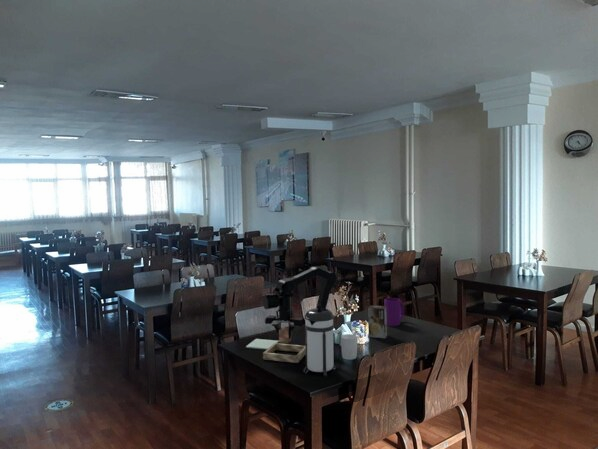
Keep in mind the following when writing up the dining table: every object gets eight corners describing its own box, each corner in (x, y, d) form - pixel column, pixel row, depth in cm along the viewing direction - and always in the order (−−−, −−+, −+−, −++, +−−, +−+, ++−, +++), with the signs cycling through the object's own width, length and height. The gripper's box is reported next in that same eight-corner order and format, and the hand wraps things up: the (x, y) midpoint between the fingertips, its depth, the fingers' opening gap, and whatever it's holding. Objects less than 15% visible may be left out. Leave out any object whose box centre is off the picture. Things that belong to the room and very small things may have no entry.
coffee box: (387, 335, 258) (387, 306, 256) (385, 338, 252) (384, 309, 250) (370, 333, 261) (370, 305, 260) (368, 337, 255) (367, 307, 254)
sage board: (278, 341, 249) (278, 340, 249) (269, 349, 237) (269, 348, 237) (256, 339, 253) (256, 338, 253) (246, 347, 241) (246, 346, 241)
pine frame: (307, 351, 233) (307, 346, 233) (297, 362, 218) (297, 356, 218) (274, 348, 238) (274, 342, 238) (262, 359, 224) (262, 353, 224)
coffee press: (343, 375, 203) (342, 306, 201) (307, 379, 199) (306, 309, 197) (332, 361, 220) (331, 297, 217) (298, 364, 216) (297, 300, 214)
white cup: (353, 361, 219) (353, 340, 219) (338, 358, 223) (337, 337, 223) (360, 356, 226) (360, 335, 225) (345, 353, 230) (345, 333, 229)
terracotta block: (291, 339, 229) (291, 327, 229) (288, 343, 225) (287, 330, 224) (282, 339, 231) (282, 326, 230) (279, 342, 226) (278, 329, 226)
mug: (381, 324, 278) (381, 299, 277) (396, 319, 289) (396, 295, 288) (394, 327, 271) (394, 301, 270) (409, 322, 282) (409, 297, 281)
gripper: (308, 303, 231) (308, 334, 232) (272, 301, 237) (273, 331, 238) (301, 309, 221) (301, 341, 222) (264, 306, 227) (264, 338, 228)
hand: (285, 338), depth 228 cm, fingers closed on terracotta block, 4 cm apart
